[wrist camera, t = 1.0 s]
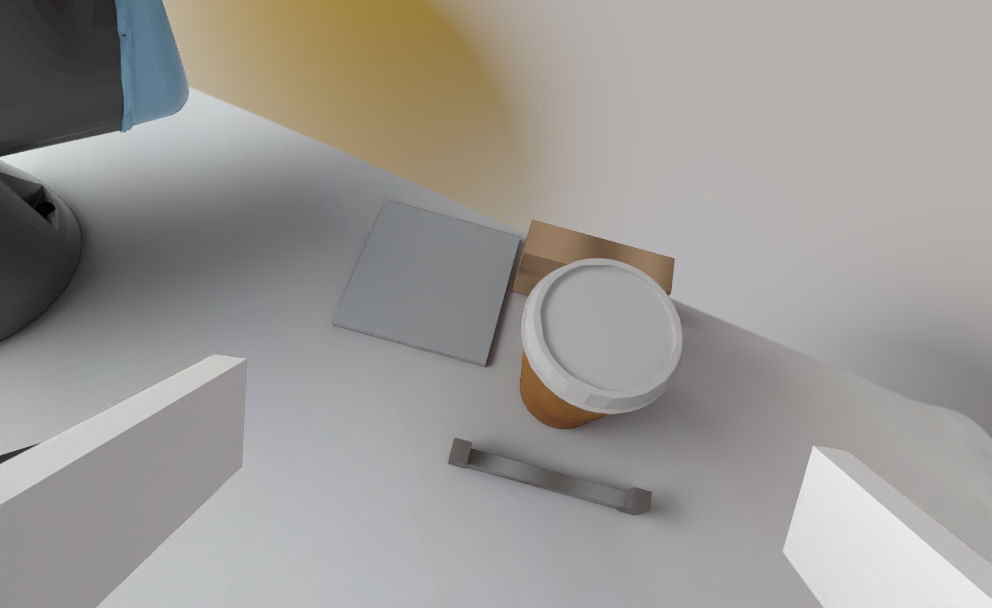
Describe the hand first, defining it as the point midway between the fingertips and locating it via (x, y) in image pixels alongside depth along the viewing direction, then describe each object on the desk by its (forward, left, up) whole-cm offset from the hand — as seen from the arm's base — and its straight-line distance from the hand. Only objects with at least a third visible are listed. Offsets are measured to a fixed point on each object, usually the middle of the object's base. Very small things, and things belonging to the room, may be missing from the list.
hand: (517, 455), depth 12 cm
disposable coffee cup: (+5, +11, -26) cm, 29 cm away
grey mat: (-7, +17, -26) cm, 32 cm away
